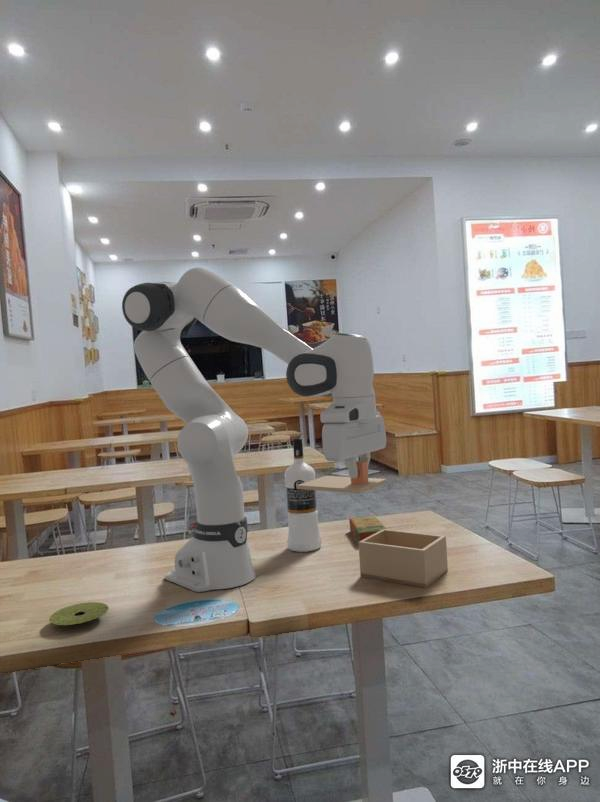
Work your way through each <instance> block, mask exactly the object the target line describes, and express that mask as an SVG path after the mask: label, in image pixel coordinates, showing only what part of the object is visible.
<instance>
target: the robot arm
mask: <svg viewBox="0 0 600 802" xmlns="http://www.w3.org/2000/svg"><path fill="white" fill-rule="evenodd" d="M121 309H122V314H123V317H124V319H125V321H126V322H127V323H128V324H129V325H130V326H131V327H133V328H135V329H137V330H140V331H141V332H140V333H139V334H138V335H137V337H136V338H135V340H134V342H133V350H134V353H135V356H136V358H137V361H138V363H139V364H140V367H141V369H142V371H143V372H144V375H145V376H146V378H147V379H148V381H149V383H150V384H151V385H152V387H153V389H154V390H155V392H156V393H157V395H158V396H159V398H160V399H161V401H162V402H163V403H164V404H163V405H164V406H165V407H166V409H168V410H169V412H171V413H173V414H174V415H175V416H177V418H179V419H180V420H181V421H183V423H184V424H185V425H184V426H183V427H182V429H181V430H180V431H179V433H178V435H177V441H176V443H177V450H178V453H179V454H180V456H181V457H182V458H183V460H184V461H185V463H186V464H187V467H188V470H189V473H190V476H191V480H192V484H193V489H194V494H195V495H194V496H195V507H196V519H197V520H196V522H193V523H190V524H189V526H191V527H189V529H190V530H191V529H193V533H192V537H191V538H190V539H189V540H188V541H187V542H186V543H184V545H183V546H181V547H180V548H179V549H178V550H177V552H175V556H174V568H172V569H170V570H169V571H167V573H166V574H165V575H164V577H165V578H164V579H165V580H166V581H168V582H172V583H173V584H176V585H179V586H181V587H183V588H186V589H188V590H191V591H193V592H196V593H201V592H207V591H211V590H224V589H232V588H237V587H240V586H243V585H246V584H248V583H250V582H252V581H253V580H254V579H255V578H256V577H257V575H256V574H257V573H256V571H255V569H254V567H255V566H254V563H253V561H252V557H251V551H250V550H251V549H250V546H249V541H248V529H249V528H248V521H247V520H248V519H247V517H246V514H245V503H244V502H245V501H244V489H243V487H244V486H243V483H242V481H241V480H240V479H239V477H238V476H239V475H238V473H237V471H236V467H235V462H234V459H233V458H234V456H235V455H236V454H238V453H239V452H240V451H242V449H243V448H244V446H245V444H246V443H247V441H248V439H249V429H248V425H247V423H246V422H245V420H244V419H243V418H242V417H240V416H239V415H238V414H237V413H235V412H234V411H233V410H232V408H231V407H230V406H229V405H228V404H227V402H226V401H224V399H223V398H222V397H221V396H220V394H218V393H217V392H216V391H215V389H213V387H212V386H211V385H210V384H209V383H208V381H207V380H206V378H205V377H204V375H203V374H202V373H201V371H200V370H199V368H198V367H197V365H196V364H195V362H194V361H193V359H192V358H191V356H190V355H189V353H188V352H187V350H186V348H185V347H184V345H183V344H182V342H181V341H182V340H181V336H185V335H187V334H189V332H190V331H191V328H192V327H193V326H194V325H195V324H196V322H197V321H199V322H200V323H201V324H202V325H204V326H205V327H207V328H208V329H209V330H210V331H212V332H213V333H214V334H217V335H218V336H221V337H222V338H224V339H227V340H228V341H230V342H235V343H240V344H245V345H248V346H249V345H251V346H254V347H258V348H261V349H263V350H266V351H267V352H270V353H271V354H273V355H274V356H276V357H277V358H278V359H280V360H281V361H283V362H284V363H286V364H287V367H286V372H285V373H286V374H285V376H286V382H287V385H288V386H289V388H290V389H291V390H292V392H294V393H295V394H296V395H299V396H300V397H301V396H302V397H305V398H315V397H316V398H317V397H331V396H332V403H330V405H329V406H328V407H326V408H325V409H324V410H323V411H321V412H320V416H319V417H320V419H319V420H320V422H321V423H322V424H324V425H323V426H322V429H321V430H322V431H321V439H322V440H321V441H322V452H323V456H324V459H325V460H326V461H329V462H342V461H344V464H345V465H346V467H347V469H348V475H349V476H348V477H350V478H358V477H360V469H358V468H357V465H356V462H357V461H358V458H359V461H367V468H368V469H369V464H370V461H371V456H372V455H371V453H372V452H376V451H380V450H383V449H385V448H386V446H387V435H386V426H385V422H384V418H383V416H382V415H381V412H380V411H379V409H378V408H377V406H376V405H377V404H376V403H377V402H376V393H375V389H374V385H373V380H374V375H375V371H374V361H373V360H374V359H373V354H372V347H371V344H370V342H369V340H368V339H367V338H366V337H365V336H363V335H360V334H354V333H349V332H348V333H347V332H337V333H333V334H331V336H330V337H329V338H328V339H327V340H326V341H324V342H323V343H321V344H319V345H318V346H316V347H312V346H311V345H309V344H308V343H306V342H304V341H303V340H302V339H300V338H299V337H297V336H296V335H294V333H292V332H290V331H288V330H287V329H286V328H285V327H283V326H281V325H280V324H279V323H278V322H276V321H275V320H274V319H273V317H271V316H270V315H268V313H266V312H265V311H264V310H263V309H262V308H261V307H260V306H259V305H258V304H257V303H256V302H255V301H253V299H252V298H250V297H249V296H248V295H247V293H245V292H243V290H241V289H240V288H239V287H238V286H236V285H235V284H233V283H232V282H230V281H229V280H227V279H226V278H223V277H222V276H221V275H219V274H217V273H214V272H213V271H211V270H208V269H207V268H203V267H200V266H199V267H193V268H190V269H188V270H186V272H184V273H183V274H182V275H181V277H180V279H179V280H178V282H171V281H160V282H143V283H139V284H135V285H133V286H131V287H130V288H129V289H128V290H127V291H126V292H125V293H124V295H123V297H122V303H121Z"/></svg>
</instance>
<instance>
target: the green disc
mask: <svg viewBox="0 0 600 802" xmlns="http://www.w3.org/2000/svg"><path fill="white" fill-rule="evenodd" d="M108 611H109V605H107V604H106V603H104V602H98V601H97V602H95V601H90V602H81V603H76V604H72V605H69V606H64V607H63V608H60V609H58V610H56V611H55V612H53V614H51V615H50V616H49V618H48V619H49V623H51V624H54V625H57V626H70V625H71V626H72V625H76V624H83V623H86V622H90V621H93V620H95V619H98V618H100V617H102V616H103V615H105V614H106V613H107V612H108Z"/></svg>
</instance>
